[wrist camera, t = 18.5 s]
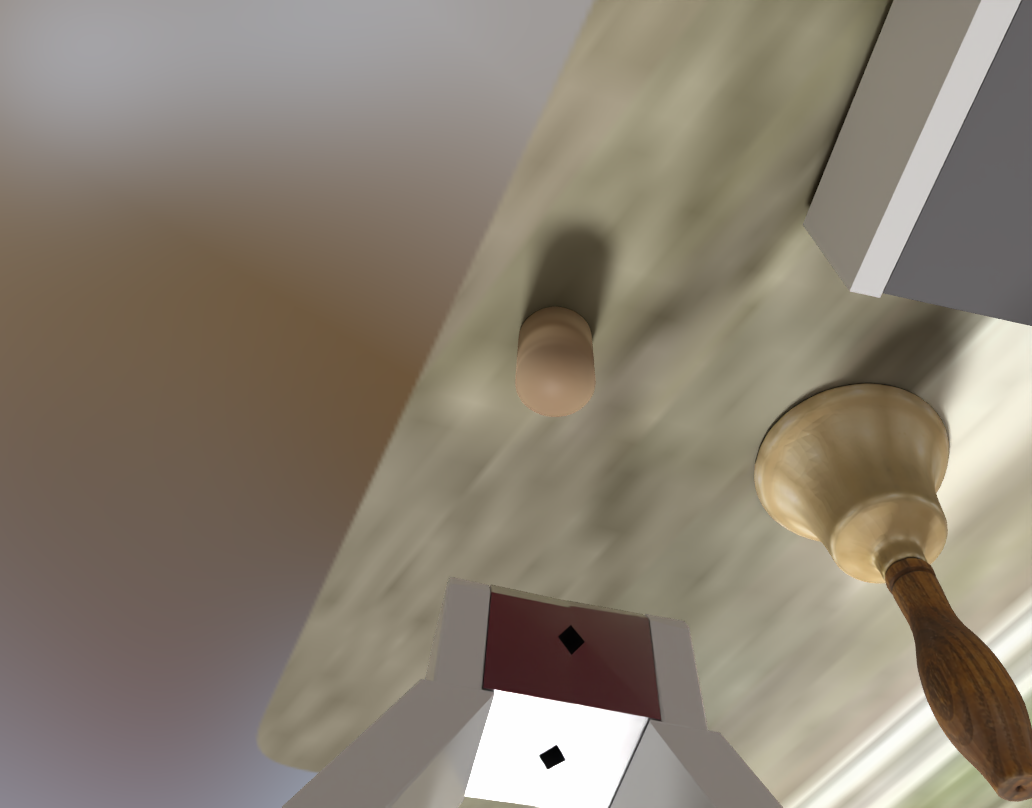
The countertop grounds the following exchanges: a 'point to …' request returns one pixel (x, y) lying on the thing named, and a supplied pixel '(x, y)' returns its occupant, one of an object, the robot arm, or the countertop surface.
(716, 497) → the countertop surface
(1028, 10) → the block
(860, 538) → the hand bell
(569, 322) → the post
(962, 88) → the white drawer
